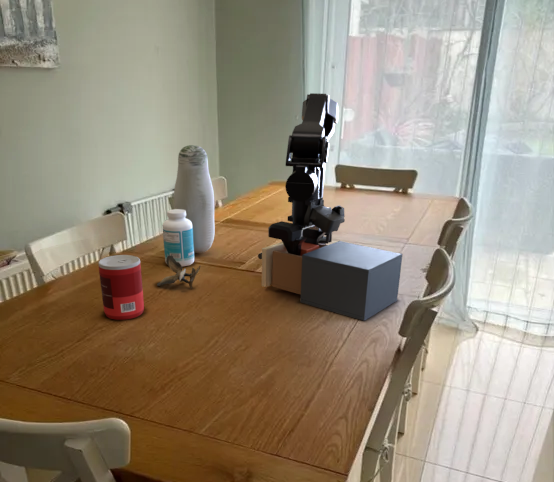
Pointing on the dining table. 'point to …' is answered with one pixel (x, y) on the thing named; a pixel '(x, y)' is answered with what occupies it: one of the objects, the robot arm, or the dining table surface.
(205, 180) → the white tall rounded cylinder
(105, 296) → the canned food
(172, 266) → the eagle figurine
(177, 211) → the pill bottle
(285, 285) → the drawer
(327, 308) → the dark grey rectangular block
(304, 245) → the block
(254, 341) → the dining table surface
